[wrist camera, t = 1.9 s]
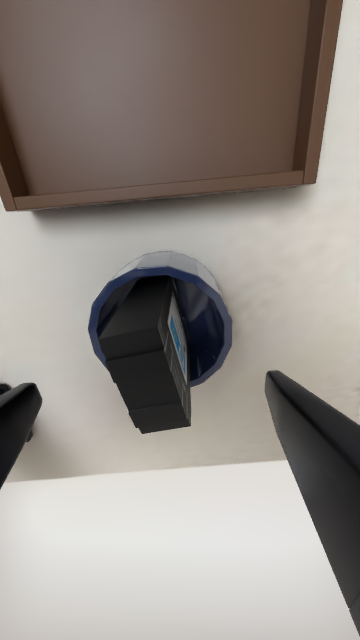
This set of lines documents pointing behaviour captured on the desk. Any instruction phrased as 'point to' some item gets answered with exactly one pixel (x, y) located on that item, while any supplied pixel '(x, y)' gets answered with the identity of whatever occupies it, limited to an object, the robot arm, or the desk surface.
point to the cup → (196, 303)
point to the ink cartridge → (151, 355)
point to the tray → (160, 98)
